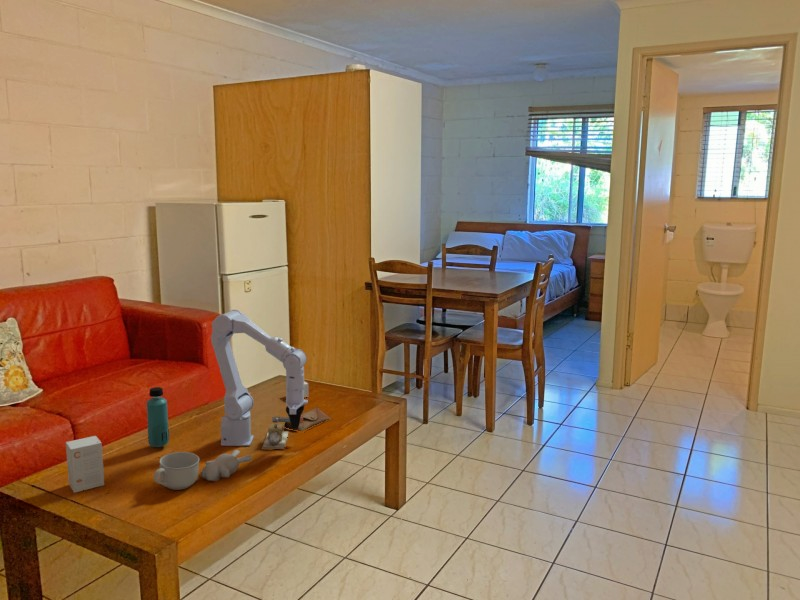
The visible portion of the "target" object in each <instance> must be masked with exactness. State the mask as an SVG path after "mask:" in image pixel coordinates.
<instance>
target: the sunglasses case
mask: <svg viewBox="0 0 800 600" xmlns="http://www.w3.org/2000/svg"><path fill="white" fill-rule="evenodd" d="M301 416H303V423H299V427H298V428H292V427H291V423H290V422H284V423H283V428H285V427H286V428H289V429H293V430H298V431H304V430H306V429H308V428H310V427H312V426H314V425H317V424H319V423H321V422H324V421H326V420H329V419H331V418H332V417H330V416H329V415H327V414H326V413H325V412H323V410H321V409H320V408H319V407H318V406H317V407H315V408H313V409H311V410H309V411H306V412H302V414H301Z"/></svg>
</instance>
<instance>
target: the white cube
mask: <svg viewBox="0 0 800 600" xmlns="http://www.w3.org/2000/svg"><path fill="white" fill-rule="evenodd" d="M309 391H310V386H309V382H307V381H305V380H304V397H309V394H310V393H309Z"/></svg>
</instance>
